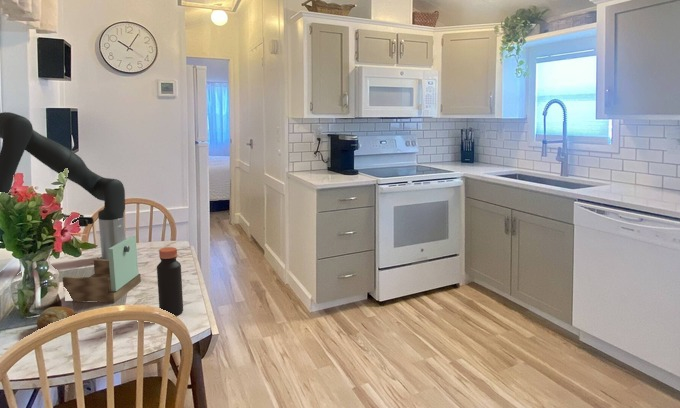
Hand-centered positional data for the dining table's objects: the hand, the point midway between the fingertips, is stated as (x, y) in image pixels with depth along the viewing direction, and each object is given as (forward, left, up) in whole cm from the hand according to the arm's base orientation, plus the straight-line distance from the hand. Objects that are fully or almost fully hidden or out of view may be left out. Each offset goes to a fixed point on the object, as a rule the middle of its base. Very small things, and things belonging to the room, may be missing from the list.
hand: (89, 221), depth 154 cm
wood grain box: (+2, +3, -24) cm, 24 cm away
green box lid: (+6, +10, -21) cm, 24 cm away
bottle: (+30, +20, -24) cm, 43 cm away
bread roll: (+25, -10, -24) cm, 37 cm away
